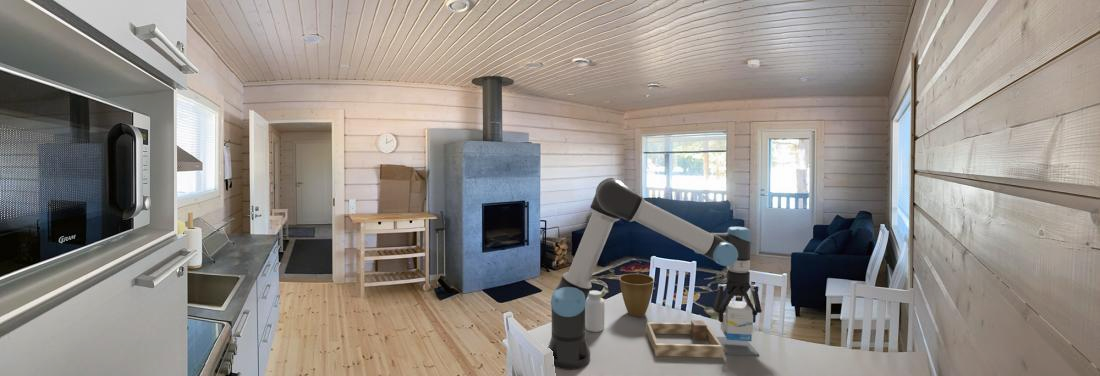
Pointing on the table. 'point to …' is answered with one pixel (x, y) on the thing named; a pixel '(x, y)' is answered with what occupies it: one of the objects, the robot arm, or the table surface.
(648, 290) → the plant pot
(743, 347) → the grey mat
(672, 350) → the frame
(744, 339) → the ink box
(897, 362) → the table surface
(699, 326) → the walnut block
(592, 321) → the white bottle
